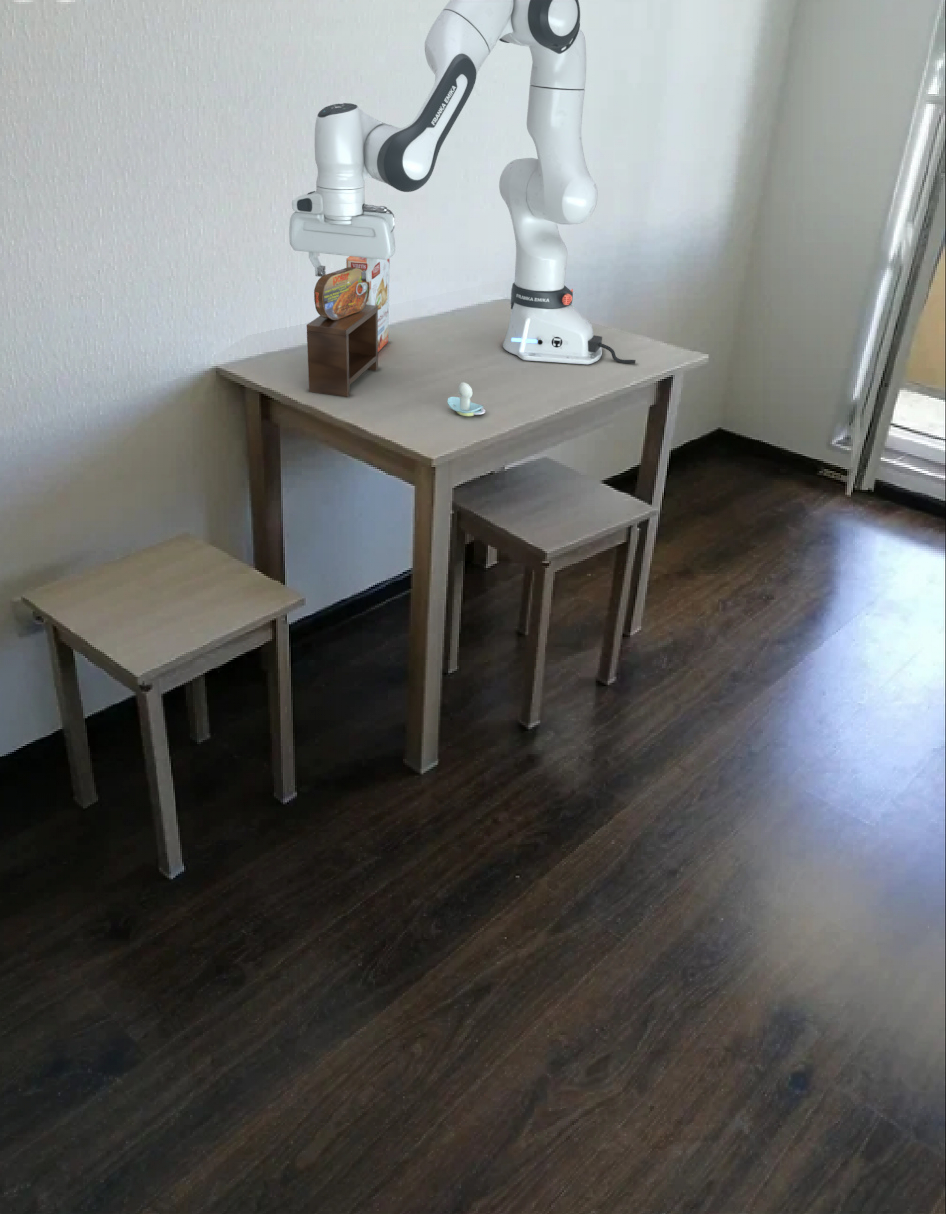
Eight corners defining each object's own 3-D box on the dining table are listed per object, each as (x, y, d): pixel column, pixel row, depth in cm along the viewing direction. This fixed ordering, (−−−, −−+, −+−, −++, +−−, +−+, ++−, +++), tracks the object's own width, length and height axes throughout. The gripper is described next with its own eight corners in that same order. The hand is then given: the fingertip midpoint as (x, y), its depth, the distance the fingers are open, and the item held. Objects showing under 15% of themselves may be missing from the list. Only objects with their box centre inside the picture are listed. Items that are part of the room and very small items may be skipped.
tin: (325, 324, 187) (323, 279, 183) (311, 321, 189) (310, 276, 184) (371, 307, 198) (370, 264, 194) (358, 304, 200) (357, 262, 195)
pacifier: (462, 404, 192) (443, 411, 188) (464, 373, 189) (444, 379, 185) (492, 414, 189) (473, 421, 184) (494, 382, 185) (475, 389, 181)
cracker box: (372, 361, 211) (372, 260, 200) (345, 358, 212) (343, 257, 201) (390, 342, 223) (391, 246, 211) (364, 339, 223) (364, 243, 212)
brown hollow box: (378, 368, 207) (377, 305, 200) (347, 397, 192) (346, 329, 185) (342, 364, 208) (340, 301, 201) (309, 391, 194) (306, 324, 187)
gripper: (399, 204, 183) (400, 280, 190) (297, 194, 187) (301, 269, 194) (388, 210, 178) (389, 288, 185) (283, 200, 182) (288, 277, 189)
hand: (343, 278), depth 190 cm, fingers open, 8 cm apart
